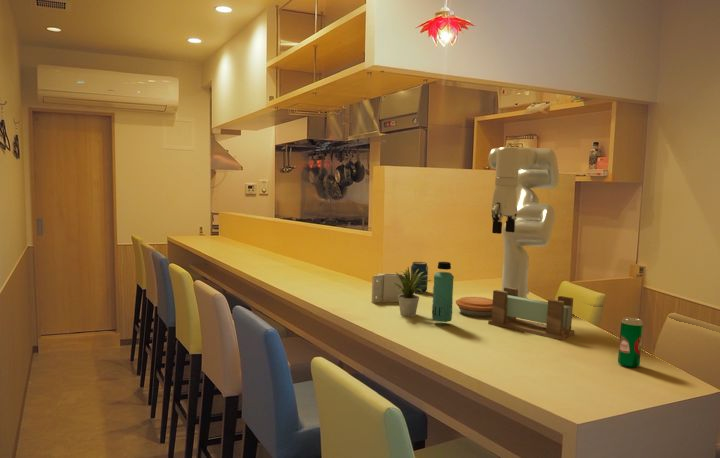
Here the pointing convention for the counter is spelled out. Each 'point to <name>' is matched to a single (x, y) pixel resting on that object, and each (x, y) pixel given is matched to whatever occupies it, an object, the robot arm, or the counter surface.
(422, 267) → the soda can
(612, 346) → the counter surface
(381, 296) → the hinge
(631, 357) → the soda can
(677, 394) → the counter surface
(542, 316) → the rail
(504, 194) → the robot arm
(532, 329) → the post stand
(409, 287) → the house plant
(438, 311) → the beverage bottle
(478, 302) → the pie
